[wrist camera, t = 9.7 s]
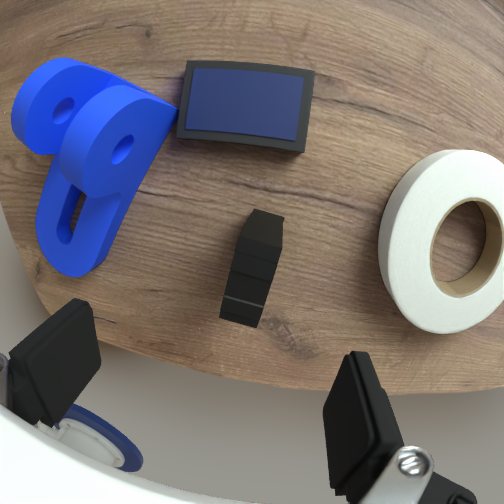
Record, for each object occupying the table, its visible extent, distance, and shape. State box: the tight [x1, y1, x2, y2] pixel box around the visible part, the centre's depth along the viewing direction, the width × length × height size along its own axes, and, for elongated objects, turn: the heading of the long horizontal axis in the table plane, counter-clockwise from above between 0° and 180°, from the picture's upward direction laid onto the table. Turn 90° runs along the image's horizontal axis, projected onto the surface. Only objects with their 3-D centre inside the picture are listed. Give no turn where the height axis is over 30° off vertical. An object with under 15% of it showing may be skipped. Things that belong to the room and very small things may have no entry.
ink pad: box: [176, 61, 315, 153], centre depth 18 cm, size 9×6×2 cm, turn 82°
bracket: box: [11, 58, 179, 277], centre depth 18 cm, size 18×8×9 cm, turn 145°
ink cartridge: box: [219, 209, 284, 328], centre depth 18 cm, size 5×2×8 cm, turn 165°
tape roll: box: [378, 150, 504, 334], centre depth 19 cm, size 16×15×3 cm
